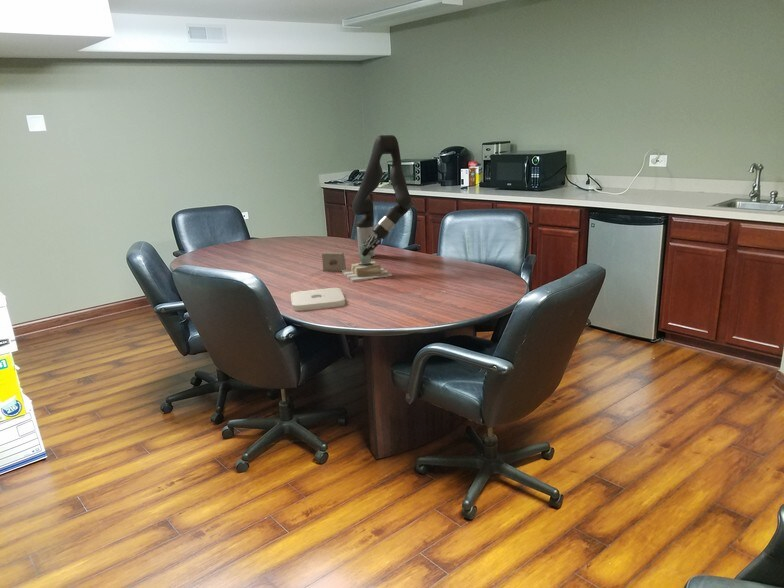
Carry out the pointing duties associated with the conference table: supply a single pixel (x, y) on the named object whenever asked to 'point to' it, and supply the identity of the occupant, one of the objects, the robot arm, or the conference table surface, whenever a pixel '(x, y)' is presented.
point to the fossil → (333, 261)
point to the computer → (317, 299)
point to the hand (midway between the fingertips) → (362, 254)
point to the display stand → (365, 271)
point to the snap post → (363, 258)
